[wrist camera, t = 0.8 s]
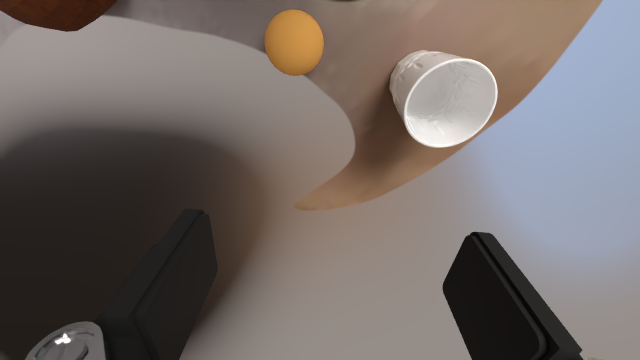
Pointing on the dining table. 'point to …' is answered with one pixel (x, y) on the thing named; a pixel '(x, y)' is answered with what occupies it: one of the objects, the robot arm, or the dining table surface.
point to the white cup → (442, 97)
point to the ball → (294, 42)
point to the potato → (56, 12)
